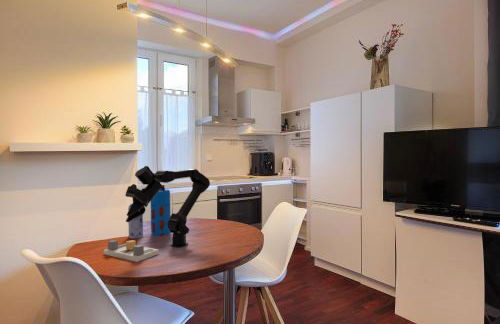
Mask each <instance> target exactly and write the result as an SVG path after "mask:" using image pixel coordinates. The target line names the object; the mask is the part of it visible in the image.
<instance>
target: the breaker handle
mask: <svg viewBox="0 0 500 324" xmlns="http://www.w3.org/2000/svg"><path fill="white" fill-rule="evenodd" d="M125 243H126V249H127V250H133V246H136V245H137V241H136V240H134V239H133V240H132V239H131V240H126V241H125Z"/></svg>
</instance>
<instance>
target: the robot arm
mask: <svg viewBox="0 0 500 324" xmlns="http://www.w3.org/2000/svg"><path fill="white" fill-rule="evenodd" d="M134 176H135V177H136V179H138V180H139V181H140V183H141V184H142V185H144V186H145V187H142V189H139V188H138V185H137V184H135V183H133V184H131V185H129V186H128V187H127V189H126V192H125V194H124V195H125V197H127V198H132V203H133V204H132V203H131V204H132V206H131V208H130V209H129V211H127V213H126V216H127V218H125V219H126V220H125V222H126V223H128V222H129V221H131V220H133V219H135V218H137V217H139V216H141V215H143V216H144V214H145V213H146V208H147V207H148V205H149V204H150V203H151V200H153V198H154V196H155V195H156V194H157V193H158V192H159V190H160V191H165V190H166V188H165V185H164V184H165V183H166V184H168V183H171V182H173V181H175V180H178V179H185V178H190V181H191V182H192V185H191V187H192V190H191V191H190V193H189V194H188V196H187V197H186V199H185V200H184V202H183V204H182V205H181V207H180V208H179V210H178V211H177V212H176V213H173V212H172V213H171V214H170V218H169V219H168V220H169V221H168V223H167V225H168V228H169V230H170V234H171V233H172V238H171V241H172V242H171V243H172V244H170V245H169V246H170V247H174V248H175V247H176V248H182V247H185V246H188V245H189V243H188V242H187V234H189V232H190V228H189V227H188V226H187V218H188V215H189V214H190V212H191V211H192V209H193V207H194V206H195V204H196V203H197V200H198V199H199V197H200V195H201V194H203V193H204V192H206V191H207V190H208V188H209V187H210V185H211V181H210V179H209V178H208V177H206V175H204V174H203V173H201V172H200V171H199V170H198V169H196V168H189V169H182V170H175V171H173V170H157V171H156V172H155V173H154V172H153V171H152V170H151V169H150V167H149V166H148V165H145V166H144V167H142V168H140V169H138V170H136V172H135V174H134ZM162 183H163V184H162Z"/></svg>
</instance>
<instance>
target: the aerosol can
mask: <svg viewBox="0 0 500 324" xmlns="http://www.w3.org/2000/svg"><path fill="white" fill-rule="evenodd" d="M132 204H133V202H132V203H130V204H129V205H128V207H127V208H128V209H127V210H128V211H129V209H130V208H131V206H132ZM128 211H127V212H128ZM143 217H144V214H143V215H141V216H139V217H137V218H135V219H133V220H131V221H129V222H127V223H128V238H129V239H139V238H143V237H144V224H143V223H144V219H143Z"/></svg>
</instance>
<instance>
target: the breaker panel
mask: <svg viewBox="0 0 500 324" xmlns="http://www.w3.org/2000/svg"><path fill="white" fill-rule="evenodd" d="M103 254H104V255H106V256H109V257H110V256H111V257H115V258H118V259H124V260H127V261H131V262H136V263H137V262H140V261H144V260H146V259H148V258H151V257H154V256H156V255H159V249H158V248H153V247H147V246H144V245H143V244H136V246H133V250H127V249H126V242H125V243H123V244H119V240H116V239H112V240H108V241H107V248H106V249H103Z"/></svg>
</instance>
